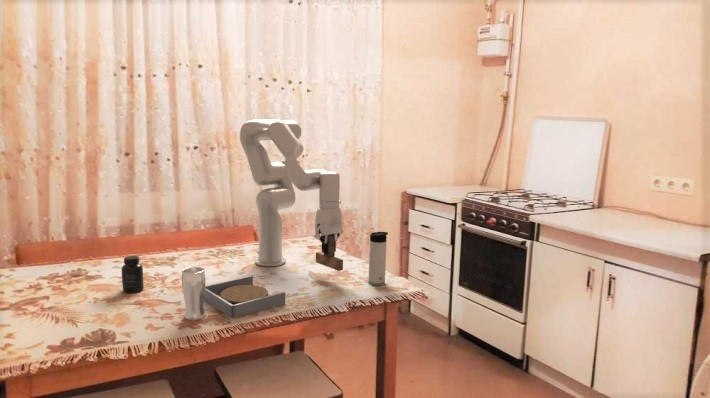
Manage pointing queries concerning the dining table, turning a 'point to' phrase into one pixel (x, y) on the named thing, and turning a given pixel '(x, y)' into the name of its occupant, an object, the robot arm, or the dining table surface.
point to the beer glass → (193, 292)
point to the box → (243, 307)
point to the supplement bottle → (132, 275)
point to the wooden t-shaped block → (330, 256)
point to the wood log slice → (243, 293)
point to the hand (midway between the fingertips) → (328, 251)
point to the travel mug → (377, 258)
